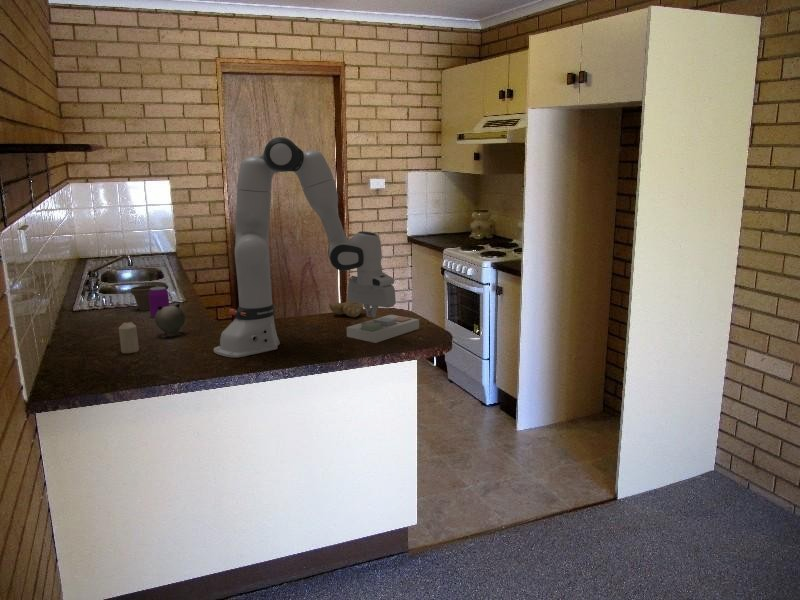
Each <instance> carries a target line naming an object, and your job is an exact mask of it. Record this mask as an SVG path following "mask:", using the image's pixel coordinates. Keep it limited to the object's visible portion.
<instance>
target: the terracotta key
mask: <svg viewBox="0 0 800 600" xmlns="http://www.w3.org/2000/svg"><path fill="white" fill-rule="evenodd" d="M405 317H406V316H402V317H397V318H394V319H396V322H405V321H408V320H410V318H411V317H408V318H405Z"/></svg>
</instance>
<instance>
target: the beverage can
mask: <svg viewBox="0 0 800 600" xmlns="http://www.w3.org/2000/svg"><path fill="white" fill-rule="evenodd" d="M169 299H170V298H169V292H168V290H167V287H166V286H158V287H152V288H150V291H149V304H150V310H149V313H150V316H152V318H155V317H156V313H157V311H158V310H159V309H158V306H161V307H165V306H170V300H169Z"/></svg>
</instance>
